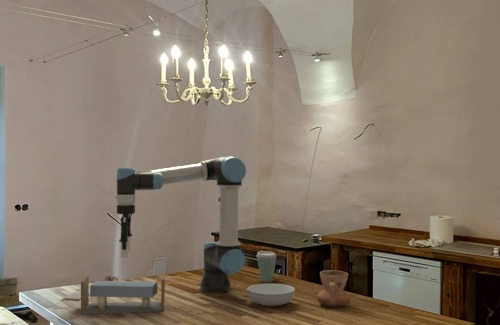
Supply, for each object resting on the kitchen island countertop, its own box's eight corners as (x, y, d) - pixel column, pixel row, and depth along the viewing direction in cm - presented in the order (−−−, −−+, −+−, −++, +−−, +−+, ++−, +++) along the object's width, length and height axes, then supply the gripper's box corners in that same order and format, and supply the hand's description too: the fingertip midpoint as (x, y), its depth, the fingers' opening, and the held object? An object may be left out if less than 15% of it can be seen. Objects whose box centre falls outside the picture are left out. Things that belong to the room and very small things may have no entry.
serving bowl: (299, 300, 233) (299, 284, 233) (287, 312, 213) (287, 295, 213) (256, 296, 240) (256, 281, 240) (240, 307, 220) (240, 291, 220)
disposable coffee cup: (280, 280, 272) (280, 252, 272) (267, 284, 264) (268, 254, 264) (265, 277, 279) (265, 250, 279) (252, 281, 270) (252, 252, 271)
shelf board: (97, 291, 223) (97, 280, 223) (157, 292, 221) (157, 281, 221) (90, 296, 214) (90, 285, 214) (152, 297, 212) (152, 286, 212)
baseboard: (58, 300, 231) (79, 302, 230) (58, 294, 231) (79, 295, 230) (90, 285, 261) (108, 286, 259) (90, 279, 261) (108, 280, 259)
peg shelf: (85, 306, 221) (85, 275, 221) (164, 303, 226) (164, 273, 226) (80, 314, 209) (80, 282, 209) (164, 311, 214) (164, 279, 214)
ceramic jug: (348, 311, 215) (349, 277, 215) (314, 308, 219) (314, 274, 219) (351, 301, 232) (352, 269, 233) (319, 298, 236) (320, 267, 236)
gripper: (119, 202, 230) (119, 249, 230) (113, 206, 205) (113, 260, 205) (136, 202, 231) (136, 249, 231) (132, 206, 206) (132, 259, 206)
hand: (125, 254), depth 218 cm, fingers open, 13 cm apart
